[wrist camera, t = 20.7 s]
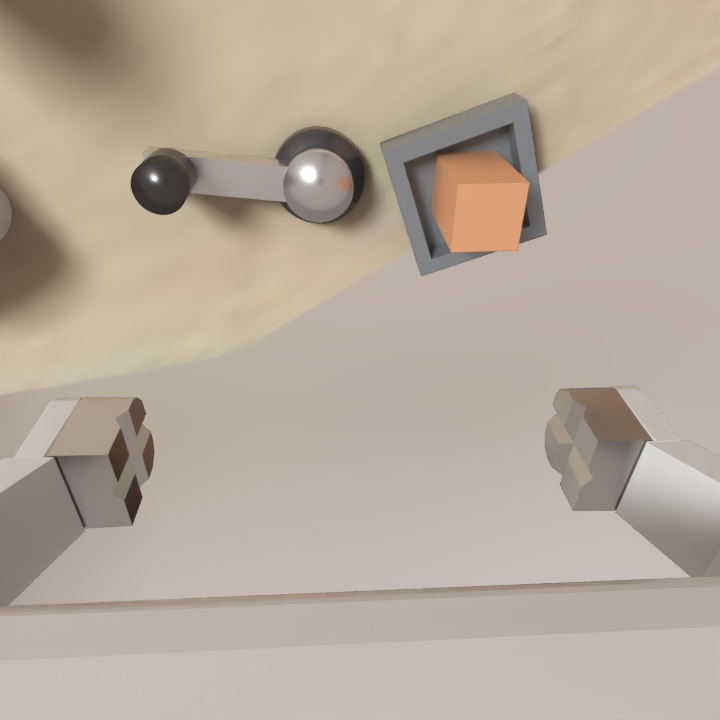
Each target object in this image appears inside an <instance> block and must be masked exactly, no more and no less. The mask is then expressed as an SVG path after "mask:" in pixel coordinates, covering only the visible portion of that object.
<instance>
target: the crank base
mask: <svg viewBox="0 0 720 720" xmlns="http://www.w3.org/2000/svg"><path fill="white" fill-rule="evenodd" d="M313 145H322V146H327V147H330V148H332V149H334V150H336V151H337V152H339V153H340V154H341V155H342V156H343V157H344V158H345V160H346V161H347V163H348V164H349V166H350V169H351V173H352V178H353V186H354V190H353V197H352V200H351V202H350V205H349V206H348V208H347V209H346V210H345V212H344V213H343V214H342V215H340V216H339V217H337V218H336V219H334V220H331V221H328V222H332V221H335V220H338V219H340V218H342V217H343V216H345V215H346V214H347V213H349V212H350V211H351V210H352V209H353V208H354V206H355V205H356V204H357V202H358V200H359V199H360V196H361V194H362V191H363V186H364V170H363V165H362V161H361V158H360V155H359V153H358V151H357V149H356V147H355V146H354V145H353V143H352V142H351V141H350V140H349V139H348V138H347V137H345V136H344V135H343V134H341V133H340V132H338V131H336V130H333V129H331V128H327V127H320V126H315V127H307V128H304V129H301V130H299V131H297V132H295V133H294V134H292V135H291V136H289V137H288V138H287V139H286V140H285V141H284V143H283V144H282V145H281V147H280V148H279V150H278V153H277V155H276V158H275V159H282V160H290V159H291V158H292V157H293V156H294V155H295V154H296V153H297V152H298V151H299V150H301V149H303V148H305V147H308V146H313ZM280 202H281V201H280ZM281 204H282V205H283V206H284V207H285V208H286V210H288V211H289V212H290V213H291V214H292V215H294V216H295V217H297V218H299V219H301V220H304V221H307V220H305V219H303V218H301V217H299V216H298V215H297V214H295V213H294V212H293V211H292V210H291V208H290V207H289V205H288V204H287V202H281ZM307 222H310V221H307ZM328 222H322V223H328ZM311 223H316V222H311Z"/></svg>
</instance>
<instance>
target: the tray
mask: <svg viewBox="0 0 720 720" xmlns="http://www.w3.org/2000/svg"><path fill="white" fill-rule="evenodd" d="M380 145H381V148H382V152H383V155H384V158H385V161H386V165H387V168H388V171H389V174H390V178H391V181H392V184H393V187H394V191H395V194H396V197H397V200H398V204H399V207H400V210H401V213H402V217H403V220H404V223H405V226H406V230H407V233H408V236H409V239H410V243H411V246H412V249H413V252H414V256H415V259H416V262H417V265H418V268H419V271H420V274H421V276H424V275H427V274H430V273H433V272H436V271H439V270H442V269H445V268H448V267H451V266H454V265H457V264H460V263H463V262H466V261H469V260H472V259H475V258H478V257H481V256H484V255H487V254H490V253H493V252H496V251H482V252H451V251H450V249H449V247H448V245H447V243H446V241H445V239H444V237H443V235H442V232H441V230H440V228H439V226H438V224H437V222H436V220H435V218H434V216H433V214H432V212H431V210H432V197H433V184H434V171H435V158H436V152H456V151H497V152H498V153H499V154H500V155H501V156H502V157H503V158H504V159H505V160H506V161H507V162H508V163H509V164H510V165H511V166H512V167H513V168H514V169H516V170H517V171H518V172H519V173H520V174H521V175H522V176H523V177H524V178H525V179H526V180H527V181H528V182H529V189H528V195H527V200H526V206H525V211H524V217H523V223H522V228H521V234H520V240H519V244H520V243H523V242H526V241H529V240H532V239H535V238H538V237H541V236H544V235H547V232H546V225H545V219H544V211H543V205H542V198H541V191H540V185H539V178H538V171H537V164H536V157H535V150H534V144H533V137H532V130H531V123H530V117H529V110H528V103H527V99H525V98H524V97H522V96H520V95H518V94H516V93H512V94H509V95H507V96H504V97H501V98H499V99H496V100H493V101H491V102H488V103H485V104H483V105H480V106H477V107H475V108H472V109H469V110H467V111H464V112H461V113H459V114H456V115H453V116H451V117H448V118H445V119H442V120H440V121H437V122H434V123H432V124H429V125H426V126H424V127H421V128H418V129H416V130H413V131H410V132H408V133H405V134H402V135H400V136H397V137H394V138H392V139H389V140H386V141H384V142H381V143H380Z"/></svg>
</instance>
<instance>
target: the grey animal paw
mask: <svg viewBox="0 0 720 720" xmlns="http://www.w3.org/2000/svg"><path fill="white" fill-rule="evenodd" d="M11 221H12V209H11V204H10V201H9V199H8V197H7V195H6V194H5V192H4V191H3V190H2V188H1V187H0V240H1V239H2V238H3V237H4V236H5V235H6V233H7V232H8V230H9V228H10V225H11Z"/></svg>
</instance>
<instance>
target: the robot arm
mask: <svg viewBox="0 0 720 720" xmlns="http://www.w3.org/2000/svg"><path fill="white" fill-rule="evenodd" d="M553 406H554V408H555V410H556V412H557V414H556V415H555V416H554V417H553V418H552V419H550V420H549V421H548V423H547V428H546V431H545V449H546V453H547V457H548V460H549V462H550V464H551V466H552V468H554V469H555V470H556V471H558V472H559V473H561V474H562V475H563V476H562V480H561V483H560V486H561V487H562V490H563V492H564V494H565V496H566V498H567V500H568V502H569V504H570V506H571V508H572V510H573V511H608V510H609V511H611V510H616V513H617V514H618V515H619V516H620V517H621V518H623V519H624V520H625V521H626V522H627V523H628V524H630V525H631V526H632V527H633V528H634V529H635V530H637V531H638V532H639V533H640V534H641V535H642V536H644V537H645V538H646V539H647V540H648V541H649V542H651V543H652V544H653V545H654V546H655V547H657V548H658V549H659V550H660V551H661V552H662V553H664V554H665V555H666V556H667V557H668V558H669V559H671V560H672V561H673V562H674V563H675V564H676V565H678V566H679V567H680V568H681V569H682V570H684V571H685V572H686V573H687V574H688V575H689V576H690V577H688V578H664V579H640V580H617V581H616V580H615V581H591V582H567V583H543V584H520V585H495V586H471V587H447V588H425V589H424V588H423V589H401V590H400V589H399V590H375V591H351V592H329V593H328V592H327V593H303V594H280V595H256V596H231V597H207V598H183V599H161V600H135V601H112V602H88V603H64V604H40V605H15V606H8V605H9V604H10V603H11V602H12V601H13V600H14V599H15V598H16V597H17V596H19V595H20V594H21V592H23V591H24V590H25V589H26V588H27V587H28V586H29V585H30V584H31V583H32V582H33V581H34V580H35V579H36V578H37V577H38V576H39V575H40V574H41V573H42V572H43V571H44V570H45V569H46V568H47V567H48V566H49V565H50V564H52V563H53V562H54V561H55V560H56V559H57V558H58V557H59V556H60V555H61V554H62V553H63V552H64V551H65V550H66V549H67V548H68V547H69V546H70V545H71V544H72V543H73V542H74V541H75V540H76V539H77V538H78V537H79V536H80V535H81V534H83V533H84V531H85V528H103V527H119V526H132V525H133V522H134V519H135V517H136V514H137V511H138V509H139V506H140V503H141V500H142V494H141V491H140V486H141V485H142V484H143V483H145V482H146V481H147V480H148V479H149V477H150V474H151V471H152V468H153V460H154V443H153V438H152V434H151V431H150V430H149V429H147V428H146V427H145V426H144V425H142V423H143V420H144V418H145V415H146V412H145V409H144V406H143V403H142V400H140V399H139V398H137V397H85V398H56V399H54V400H52V401H51V402H50V403H49V405H48V406H47V408H46V409H45V411H44V412H43V414H42V415H41V417H40V419H39V420H38V421H37V423H36V425H35V426H34V427H33V429H32V431H31V432H30V434H29V435H28V437H27V438H26V440H25V441H24V443H23V444H22V446H21V447H20V449H19V450H18V452H17V453H16V455H15V457H14V458H5V459H3V460H1V461H0V720H720V456H718V455H716V454H714V453H712V452H711V451H709V450H707V449H705V448H703V447H701V446H699V445H697V444H696V443H694V442H692V441H690V440H681V439H680V437H679V436H678V435H677V434H676V432H675V431H674V430H673V429H672V427H671V426H670V425H669V424H668V422H667V421H666V420H665V419H664V417H663V416H662V415H661V413H660V412H659V411H658V410H657V408H656V407H655V406H654V405H653V403H651V401H650V400H649V398H648V397H647V396H646V395H645V393H644V392H643V391H642V390H641V389H640V388H638V387H636V386H619V387H618V386H616V387H609V388H576V389H575V388H573V389H572V388H571V389H560V390H559V391H558V392H557V394H556V396H555V399H554V402H553Z"/></svg>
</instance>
